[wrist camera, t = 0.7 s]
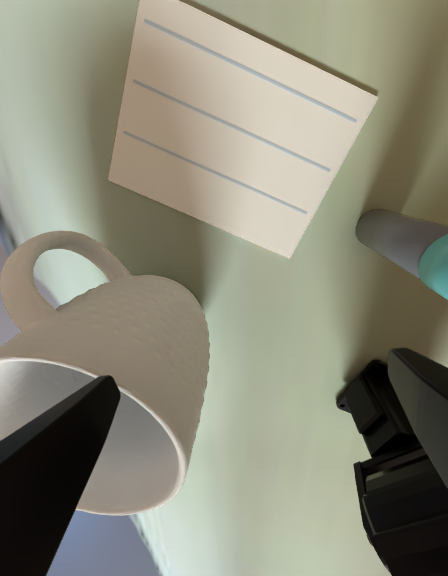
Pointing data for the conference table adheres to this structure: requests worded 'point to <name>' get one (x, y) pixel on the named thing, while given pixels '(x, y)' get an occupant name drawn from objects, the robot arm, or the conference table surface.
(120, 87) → the conference table surface
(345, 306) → the conference table surface
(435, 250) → the marker
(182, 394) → the mug
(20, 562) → the robot arm
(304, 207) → the paper
